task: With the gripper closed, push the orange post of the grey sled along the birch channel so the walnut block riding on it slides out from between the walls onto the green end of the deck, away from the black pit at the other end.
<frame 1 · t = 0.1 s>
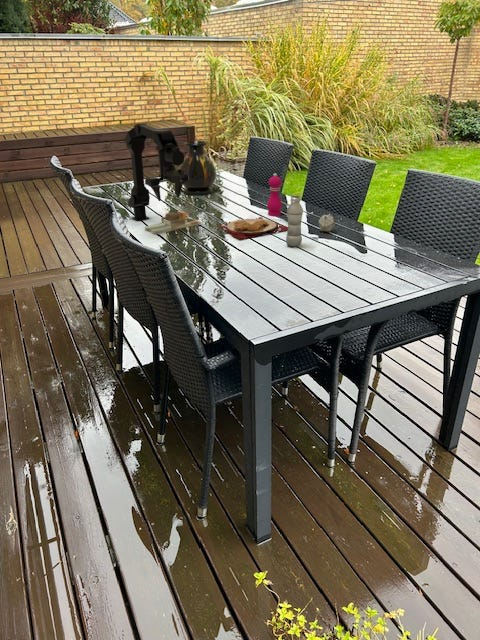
hand: (168, 199, 212), 15 cm above the table, tool pointing down, fingers open, 9 cm apart
plate with food: (250, 230, 221), on the table
sled: (174, 218, 224), point 4 cm above the table, slide at 0.0 cm, touching block
pepper mill: (274, 214, 241), on the table
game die: (326, 232, 215), on the table
plastic bottle: (293, 246, 199), on the table
amphora vase: (198, 192, 286), on the table
deck: (172, 227, 225), on the table
block: (172, 221, 224), point 3 cm above the table, touching sled
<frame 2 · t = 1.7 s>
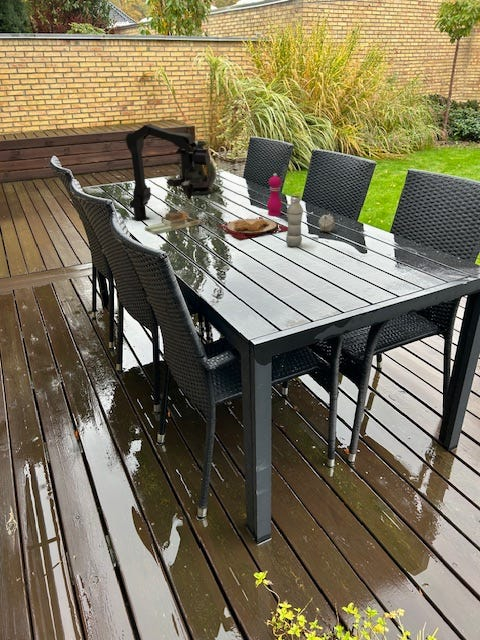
hand: (189, 199, 225), 11 cm above the table, tool pointing down, fingers closed
nothing on the table moved.
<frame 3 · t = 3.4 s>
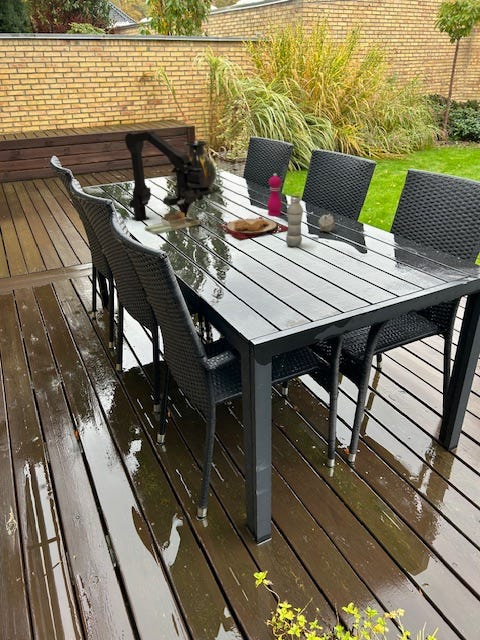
hand: (184, 216, 227), 3 cm above the table, tool pointing down, fingers closed
sled: (173, 218, 223), point 4 cm above the table, slide at 0.7 cm, touching block, gripper
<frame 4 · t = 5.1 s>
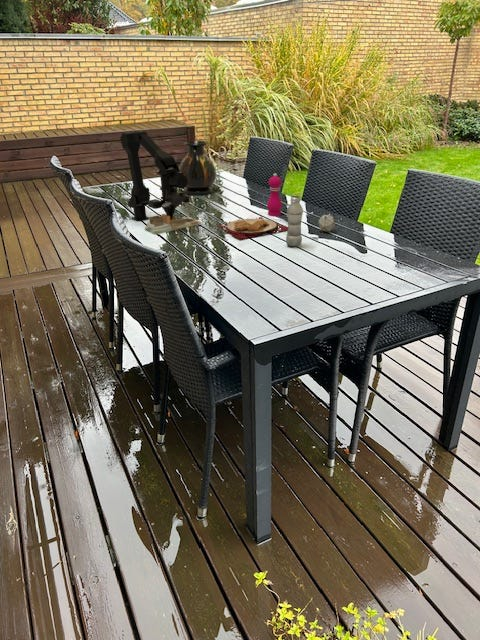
hand: (170, 219, 223), 3 cm above the table, tool pointing down, fingers closed
sled: (158, 221, 219), point 4 cm above the table, slide at 8.5 cm, touching block, gripper
block: (156, 224, 219), point 3 cm above the table, touching sled
everything else where it was.
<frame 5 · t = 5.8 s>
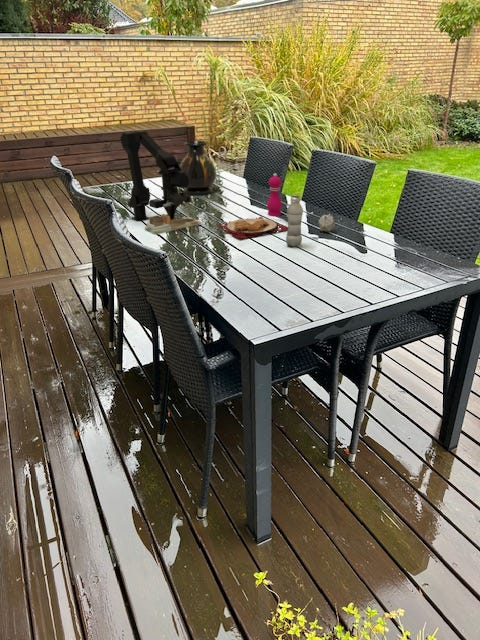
hand: (171, 219, 223), 4 cm above the table, tool pointing down, fingers closed
sled: (158, 221, 219), point 4 cm above the table, slide at 8.6 cm, touching block
everything else where it was.
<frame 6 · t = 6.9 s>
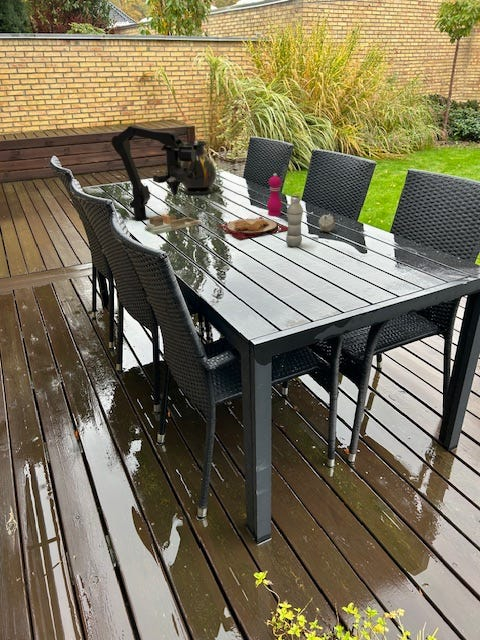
hand: (174, 195, 228), 12 cm above the table, tool pointing down, fingers closed
nothing on the table moved.
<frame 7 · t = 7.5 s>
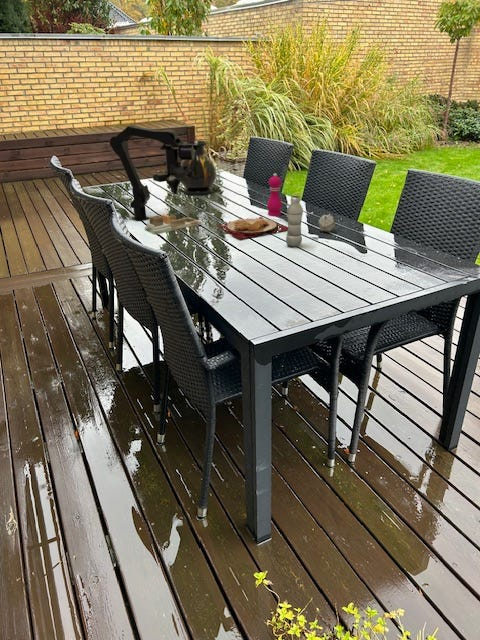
hand: (174, 194, 229), 13 cm above the table, tool pointing down, fingers closed
nothing on the table moved.
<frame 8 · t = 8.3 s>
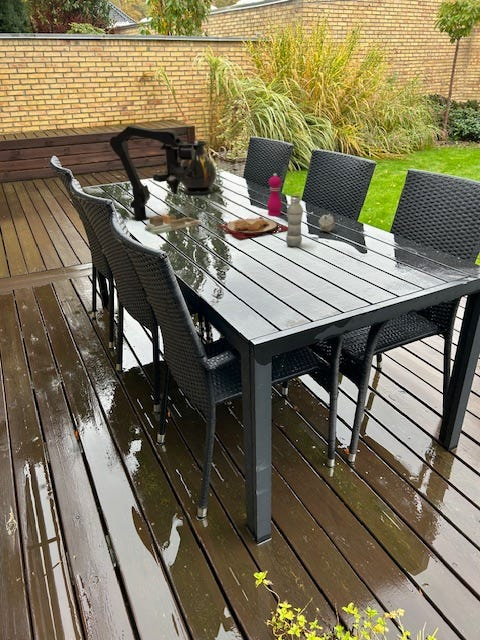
hand: (174, 194, 229), 13 cm above the table, tool pointing down, fingers closed
nothing on the table moved.
at the end: sled slide at 8.6 cm; block inside the target area (0.1 cm from its centre), point 2.6 cm above the table; block tilted 0° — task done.
